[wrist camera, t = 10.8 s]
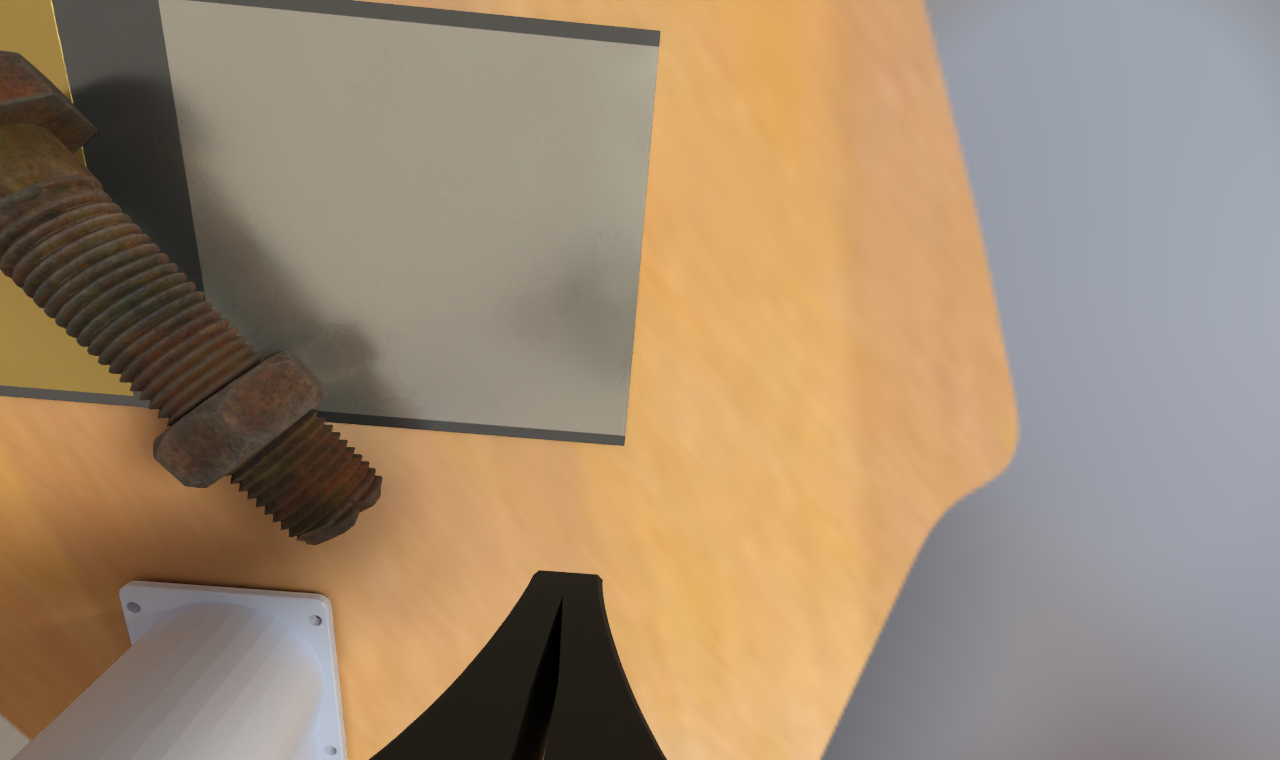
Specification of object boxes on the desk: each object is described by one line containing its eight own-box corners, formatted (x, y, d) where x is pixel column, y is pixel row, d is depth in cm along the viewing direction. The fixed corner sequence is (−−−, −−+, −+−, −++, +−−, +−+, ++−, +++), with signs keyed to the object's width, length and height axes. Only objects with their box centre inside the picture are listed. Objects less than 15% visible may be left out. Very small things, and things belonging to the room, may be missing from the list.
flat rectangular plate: (624, 441, 22) (624, 445, 21) (-180, 377, 21) (-192, 380, 21) (659, 33, 17) (660, 30, 17) (-356, -68, 16) (-374, -72, 16)
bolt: (378, 471, 24) (45, 130, 19) (444, 444, 20) (65, 26, 16) (251, 595, 19) (-214, 197, 15) (310, 584, 16) (-260, 74, 12)
